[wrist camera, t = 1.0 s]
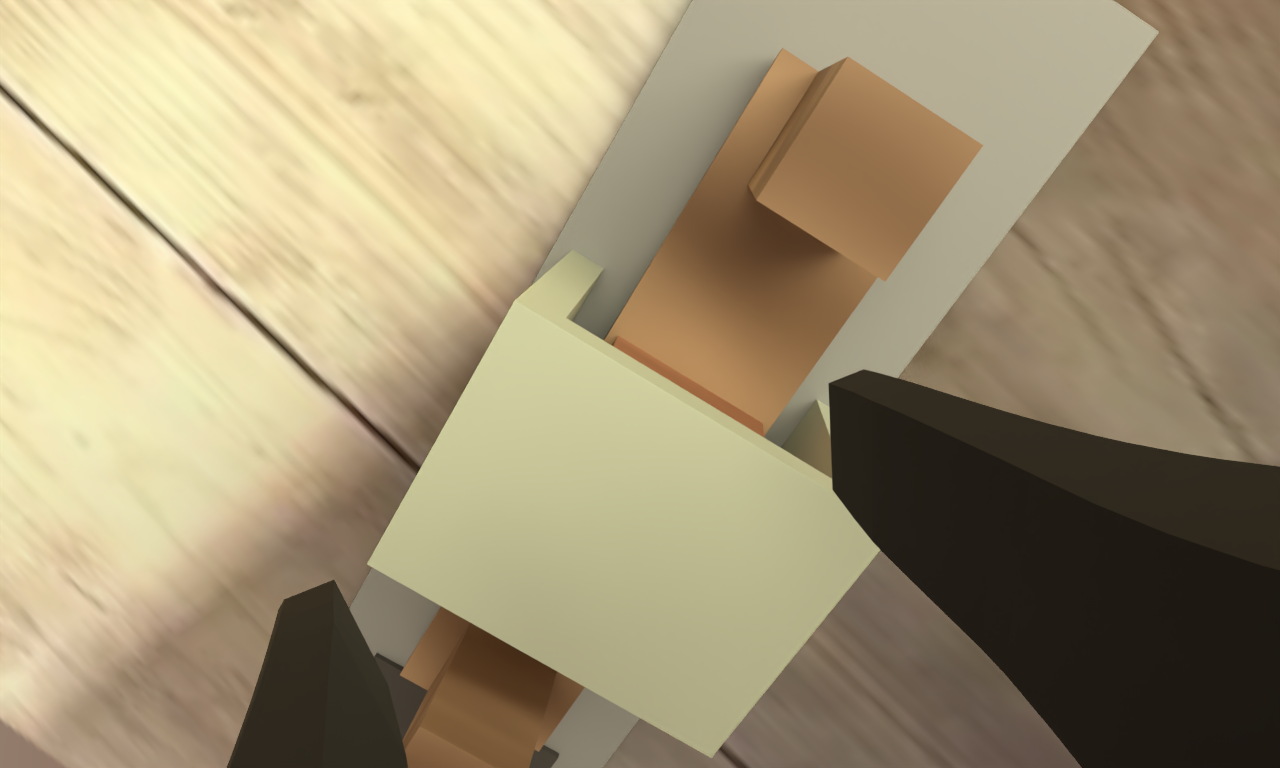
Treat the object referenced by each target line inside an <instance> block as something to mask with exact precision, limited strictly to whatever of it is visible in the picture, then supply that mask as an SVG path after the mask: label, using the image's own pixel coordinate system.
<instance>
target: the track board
mask: <svg viewBox="0 0 1280 768" xmlns="http://www.w3.org/2000/svg"><path fill="white" fill-rule="evenodd" d="M1158 33H1159V31H1157V30H1156V29H1154V28H1153V27H1151V26H1150V25H1148V24H1147V23H1146V22H1144V21H1143V20H1141V19H1140V18H1138V17H1137V16H1135V15H1134V14H1132V13H1131V12H1130V11H1128V10H1127V9H1125V8H1124V7H1122V6H1121V5H1119V4H1118V3H1116V2H1115V1H1114V0H692V2H691V3H690V5H689V7H688V9H687V10H686V12H685V14H684V16H683V17H682V19H681V21H680V23H679V25H678V26H677V28H676V30H675V32H674V33H673V35H672V37H671V39H670V41H669V42H668V44H667V46H666V48H665V49H664V51H663V53H662V55H661V56H660V58H659V60H658V62H657V64H656V65H655V67H654V69H653V71H652V72H651V74H650V76H649V78H648V80H647V81H646V83H645V85H644V87H643V88H642V90H641V92H640V94H639V95H638V97H637V99H636V101H635V103H634V104H633V106H632V108H631V110H630V111H629V113H628V115H627V117H626V119H625V120H624V122H623V124H622V126H621V127H620V129H619V131H618V133H617V134H616V136H615V138H614V140H613V142H612V143H611V145H610V147H609V149H608V150H607V152H606V154H605V156H604V157H603V159H602V161H601V163H600V165H599V166H598V168H597V170H596V172H595V173H594V175H593V177H592V179H591V181H590V182H589V184H588V186H587V188H586V189H585V191H584V193H583V195H582V196H581V198H580V200H579V202H578V204H577V205H576V207H575V209H574V211H573V212H572V214H571V216H570V218H569V220H568V221H567V223H566V225H565V227H564V228H563V230H562V232H561V234H560V235H559V237H558V239H557V241H556V243H555V244H554V246H553V248H552V250H551V251H550V253H549V255H548V257H547V259H546V260H545V262H544V264H543V266H542V267H541V269H540V271H539V273H538V274H537V276H536V278H535V280H534V282H533V283H532V285H533V284H534V283H535V282H536V281H537V280H539V279H540V278H541V277H542V276H543V275H544V274H545V273H547V272H548V271H549V270H550V269H551V268H552V267H553V266H555V265H556V264H557V263H558V262H559V261H560V260H561V259H563V258H564V257H565V256H566V255H567V254H568V253H569V252H571V251H572V250H574V251H576V252H578V253H579V254H581V255H582V256H584V257H586V258H587V259H589V260H591V261H592V262H594V263H595V264H597V265H599V266H600V267H602V268H604V270H603V271H602V273H601V275H600V276H599V278H598V280H597V281H596V283H595V285H594V287H593V288H592V290H591V292H590V293H589V295H588V297H587V298H586V300H585V302H584V303H583V305H582V307H581V308H580V310H579V312H578V314H577V315H576V317H575V319H574V320H573V322H574V323H575V324H577V325H579V326H580V327H582V328H584V329H585V330H587V331H589V332H590V333H592V334H594V335H595V336H597V337H599V338H600V339H602V340H604V338H605V337H606V335H607V333H608V332H609V330H610V328H611V327H612V325H613V324H614V322H615V320H616V319H617V317H618V315H619V314H620V312H621V310H622V309H623V307H624V306H625V304H626V302H627V301H628V299H629V297H630V296H631V294H632V292H633V291H634V289H635V287H636V286H637V284H638V283H639V281H640V279H641V278H642V276H643V274H644V273H645V271H646V269H647V268H648V266H649V265H650V263H651V261H652V260H653V258H654V256H655V255H656V253H657V251H658V250H659V248H660V247H661V245H662V243H663V242H664V240H665V238H666V237H667V235H668V233H669V232H670V230H671V229H672V227H673V225H674V224H675V222H676V220H677V219H678V217H679V215H680V214H681V212H682V211H683V209H684V207H685V206H686V204H687V202H688V201H689V199H690V197H691V196H692V194H693V193H694V191H695V189H696V188H697V186H698V184H699V183H700V181H701V179H702V178H703V176H704V174H705V173H706V171H707V170H708V168H709V166H710V165H711V163H712V161H713V160H714V158H715V156H716V155H717V153H718V152H719V150H720V148H721V147H722V145H723V143H724V142H725V140H726V138H727V137H728V135H729V134H730V132H731V130H732V129H733V127H734V125H735V124H736V122H737V120H738V119H739V117H740V116H741V114H742V112H743V111H744V109H745V107H746V106H747V104H748V102H749V101H750V99H751V98H752V96H753V94H754V93H755V91H756V89H757V88H758V86H759V84H760V83H761V81H762V80H763V78H764V76H765V75H766V73H767V71H768V70H769V68H770V66H771V65H772V63H773V62H774V60H775V58H776V57H777V55H778V53H779V52H780V51H781V50H782V48H784V49H785V50H787V51H788V52H790V53H791V54H793V55H794V56H796V57H797V58H799V59H800V60H802V61H804V62H805V63H807V64H808V65H810V66H811V67H813V68H814V69H816V70H817V71H821V70H823V69H825V68H827V67H829V66H830V65H832V64H834V63H836V62H838V61H840V60H842V59H844V58H846V57H850V58H851V59H853V60H854V61H856V62H857V63H859V64H860V65H862V66H863V67H865V68H866V69H868V70H870V71H871V72H873V73H874V74H876V75H877V76H879V77H880V78H882V79H883V80H885V81H886V82H888V83H889V84H891V85H892V86H894V87H895V88H897V89H898V90H900V91H901V92H903V93H904V94H906V95H907V96H909V97H911V98H912V99H914V100H915V101H917V102H918V103H920V104H921V105H923V106H924V107H926V108H927V109H929V110H930V111H932V112H933V113H935V114H936V115H938V116H939V117H941V118H942V119H944V120H945V121H947V122H948V123H950V124H952V125H953V126H955V127H956V128H958V129H959V130H961V131H962V132H964V133H965V134H967V135H968V136H970V137H971V138H973V139H974V140H976V141H977V142H979V143H980V144H982V145H983V147H982V148H981V149H980V151H979V152H978V153H977V155H976V156H975V158H974V159H973V160H972V162H971V163H970V165H969V166H968V167H967V169H966V170H965V172H964V173H963V174H962V176H961V177H960V179H959V180H958V181H957V183H956V184H955V185H954V187H953V188H952V190H951V191H950V192H949V194H948V195H947V197H946V198H945V199H944V201H943V202H942V204H941V205H940V206H939V208H938V209H937V210H936V212H935V213H934V215H933V216H932V217H931V219H930V220H929V222H928V223H927V224H926V226H925V227H924V229H923V230H922V231H921V233H920V234H919V236H918V237H917V238H916V240H915V241H914V242H913V244H912V245H911V247H910V248H909V249H908V251H907V252H906V254H905V255H904V256H903V258H902V259H901V261H900V262H899V263H898V265H897V266H896V268H895V269H894V270H893V272H892V273H891V274H890V276H889V277H888V279H887V280H886V281H883V280H881V279H880V278H877V279H876V280H875V282H874V283H873V285H872V286H871V287H870V289H869V290H868V292H867V293H866V294H865V296H864V297H863V299H862V300H861V301H860V303H859V304H858V306H857V307H856V308H855V310H854V311H853V313H852V314H851V315H850V317H849V318H848V320H847V321H846V322H845V324H844V325H843V327H842V328H841V329H840V331H839V332H838V334H837V335H836V336H835V338H834V339H833V341H832V342H831V343H830V345H829V346H828V348H827V349H826V350H825V352H824V353H823V355H822V356H821V357H820V359H819V360H818V362H817V363H816V364H815V366H814V367H813V369H812V370H811V371H810V373H809V374H808V376H807V377H806V378H805V380H804V381H803V383H802V384H801V385H800V387H799V388H798V390H797V391H796V392H795V394H794V395H793V397H792V398H791V399H790V401H789V402H788V404H787V405H786V406H785V408H784V409H783V411H782V412H781V413H780V415H779V416H778V418H777V419H776V420H775V422H774V423H773V425H772V426H771V427H770V429H769V430H768V432H767V433H766V434H765V436H764V437H765V439H767V440H769V441H770V442H772V443H774V444H775V445H777V446H779V447H780V448H782V446H783V445H784V443H785V442H786V441H787V439H788V438H789V437H790V435H791V434H792V432H793V431H794V430H795V428H796V427H797V426H798V424H799V423H800V421H801V420H802V419H803V417H804V416H805V415H806V413H807V412H808V410H809V409H810V408H811V406H812V405H813V404H814V402H815V401H816V399H817V400H819V401H820V402H822V403H823V404H825V405H827V406H828V407H829V384H828V383H830V382H833V381H835V380H838V379H840V378H843V377H845V376H848V375H850V374H853V373H855V372H858V371H860V370H863V369H865V370H869V371H873V372H877V373H881V374H884V375H888V376H891V377H895V378H898V377H899V375H900V374H901V373H902V371H903V370H904V369H905V367H906V366H907V365H908V363H909V362H910V361H911V359H912V358H913V357H914V355H915V354H916V353H917V351H918V350H919V349H920V347H921V346H922V345H923V343H924V342H925V341H926V339H927V338H928V337H929V336H930V334H931V333H932V332H933V330H934V329H935V328H936V326H937V325H938V324H939V322H940V321H941V320H942V318H943V317H944V316H945V314H946V313H947V312H948V310H949V309H950V308H951V306H952V305H953V304H954V302H955V301H956V300H957V298H958V297H959V296H960V295H961V293H962V292H963V291H964V289H965V288H966V287H967V285H968V284H969V283H970V281H971V280H972V279H973V277H974V276H975V275H976V273H977V272H978V271H979V269H980V268H981V267H982V265H983V264H984V263H985V261H986V260H987V259H988V258H989V256H990V255H991V254H992V252H993V251H994V250H995V248H996V247H997V246H998V244H999V243H1000V242H1001V240H1002V239H1003V238H1004V236H1005V235H1006V234H1007V232H1008V231H1009V230H1010V228H1011V227H1012V226H1013V224H1014V223H1015V222H1016V220H1017V219H1018V218H1019V217H1020V215H1021V214H1022V213H1023V211H1024V210H1025V209H1026V207H1027V206H1028V205H1029V203H1030V202H1031V201H1032V199H1033V198H1034V197H1035V195H1036V194H1037V193H1038V191H1039V190H1040V189H1041V187H1042V186H1043V185H1044V183H1045V182H1046V181H1047V179H1048V178H1049V177H1050V176H1051V174H1052V173H1053V172H1054V170H1055V169H1056V168H1057V166H1058V165H1059V164H1060V162H1061V161H1062V160H1063V158H1064V157H1065V156H1066V154H1067V153H1068V152H1069V150H1070V149H1071V148H1072V146H1073V145H1074V144H1075V142H1076V141H1077V140H1078V138H1079V137H1080V136H1081V135H1082V133H1083V132H1084V131H1085V129H1086V128H1087V127H1088V125H1089V124H1090V123H1091V121H1092V120H1093V119H1094V117H1095V116H1096V115H1097V113H1098V112H1099V111H1100V109H1101V108H1102V107H1103V105H1104V104H1105V103H1106V101H1107V100H1108V99H1109V98H1110V96H1111V95H1112V94H1113V92H1114V91H1115V90H1116V88H1117V87H1118V86H1119V84H1120V83H1121V82H1122V80H1123V79H1124V78H1125V76H1126V75H1127V74H1128V72H1129V71H1130V70H1131V68H1132V67H1133V66H1134V64H1135V63H1136V62H1137V60H1138V59H1139V58H1140V57H1141V55H1142V54H1143V53H1144V51H1145V50H1146V49H1147V47H1148V46H1149V45H1150V43H1151V42H1152V41H1153V39H1154V38H1155V37H1156V35H1157V34H1158ZM532 285H531V286H532ZM440 607H441V606H440V605H438V604H436V603H435V602H433V601H431V600H429V599H428V598H426V597H424V596H422V595H420V594H419V593H417V592H415V591H413V590H412V589H410V588H408V587H406V586H404V585H403V584H401V583H399V582H397V581H396V580H394V579H392V578H390V577H389V576H387V575H385V574H383V573H381V572H380V571H378V570H376V569H374V568H373V567H372V569H371V570H370V572H369V574H368V576H367V578H366V579H365V581H364V583H363V585H362V586H361V588H360V590H359V592H358V593H357V595H356V597H355V599H354V601H353V602H352V604H351V606H350V608H349V610H350V612H351V614H352V615H353V617H354V619H355V621H356V623H357V625H358V627H359V629H360V631H361V633H362V635H363V637H364V639H365V641H366V643H367V645H368V646H369V648H370V650H371V652H372V654H373V656H375V655H376V653H379V654H381V655H382V656H384V657H386V658H388V659H390V660H391V661H393V662H395V663H397V664H399V665H400V666H402V667H405V665H406V663H407V661H408V660H409V658H410V656H411V654H412V653H413V651H414V649H415V648H416V646H417V644H418V643H419V641H420V640H421V638H422V636H423V635H424V633H425V631H426V630H427V628H428V626H429V625H430V623H431V622H432V620H433V618H434V617H435V615H436V613H437V612H438V610H439V608H440ZM639 719H640V718H639V717H637V716H636V715H634V714H632V713H630V712H628V711H627V710H625V709H623V708H621V707H620V706H618V705H616V704H614V703H612V702H611V701H609V700H607V699H605V698H604V697H602V696H600V695H598V694H596V693H595V692H593V691H591V690H589V689H588V688H586V687H585V688H584V689H583V691H582V692H581V693H580V695H579V696H578V698H577V699H576V700H575V702H574V703H573V705H572V706H571V707H570V709H569V710H568V712H567V713H566V714H565V716H564V717H563V719H562V720H561V721H560V723H559V724H558V726H557V727H556V728H555V730H554V731H553V733H552V734H551V735H550V737H549V738H548V740H547V741H546V742H545V744H544V745H545V746H547V747H549V748H550V749H552V750H554V751H556V752H558V753H559V757H558V759H557V760H556V762H555V763H554V764H553V766H552V767H551V768H603V767H604V765H605V764H606V763H607V761H608V760H609V759H610V757H611V756H612V755H613V753H614V752H615V751H616V749H617V748H618V747H619V745H620V744H621V743H622V741H623V740H624V739H625V737H626V736H627V735H628V734H629V732H630V731H631V730H632V728H633V727H634V726H635V724H636V723H637V722H638V720H639Z"/></svg>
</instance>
